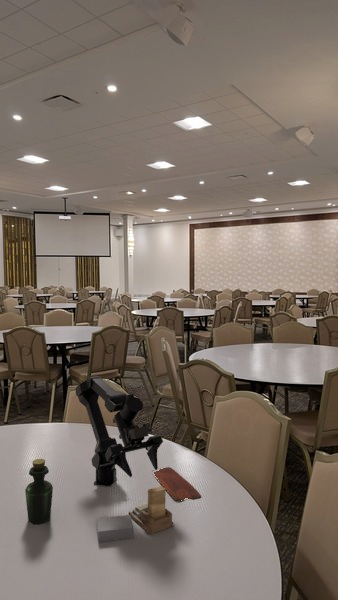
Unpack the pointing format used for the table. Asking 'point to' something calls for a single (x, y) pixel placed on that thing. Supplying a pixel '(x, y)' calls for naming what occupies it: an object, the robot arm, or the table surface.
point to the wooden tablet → (176, 484)
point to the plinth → (114, 528)
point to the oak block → (156, 502)
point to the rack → (151, 519)
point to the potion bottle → (39, 494)
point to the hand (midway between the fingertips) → (144, 472)
